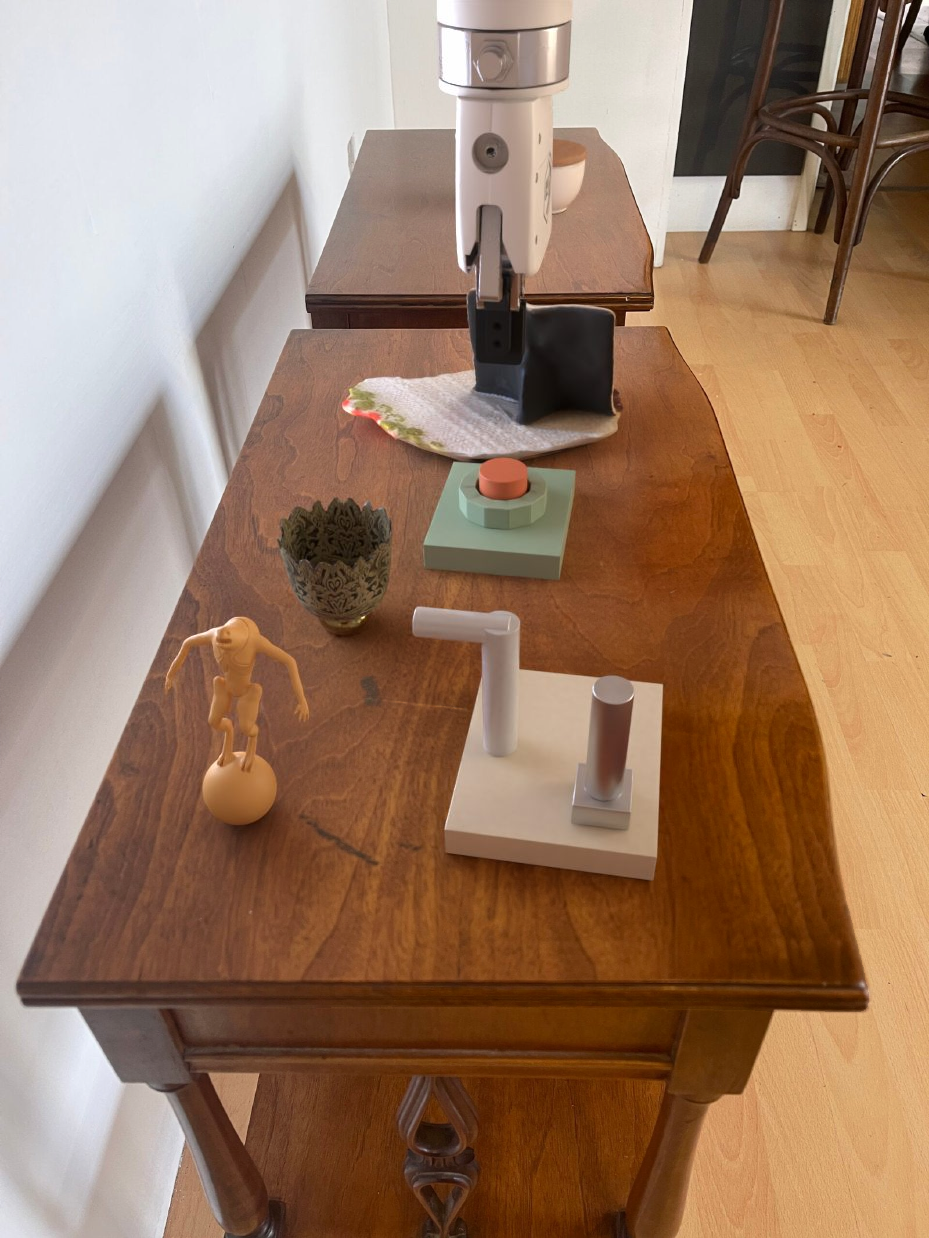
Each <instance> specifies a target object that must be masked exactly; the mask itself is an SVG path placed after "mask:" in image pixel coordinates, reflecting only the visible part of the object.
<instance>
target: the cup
mask: <svg viewBox="0 0 929 1238" xmlns="http://www.w3.org/2000/svg"><path fill="white" fill-rule="evenodd" d="M373 509H374V508H373V506H372V503H371V501H370V500H367V501H366V502H365V503H364V504H363V506H362V508H361V507H360V505H359V504H357V503H356V501H355V500H354V498H352V497H347V498H346V500H345V502H344V501H343V500H341V499H340V498H339V497H338V496H335V497H333V498H332V499H331V501H330V502H329V504H328V506H327V510H326V508H325V507H323V504H322V501H321V500H319V499H317V500H316V501H315V502H314V503H313V505H312V508H311V510H307V509H306V508H304V507H303V506H298V505H297V506H294V508H293V509H292V511H290V514H289V515H288V518H285V517H282V518H280V521H279V528H280V531H281V532H280V533H281V535H280V536H279V537H275V539H276V543H277V545H278V548H279V551H280V555H281V557H282V560H283V565H284V568H285V570H286V574H287V576H288V579H289V582H290V585H291V588H292V590H293V592H294V595H295V597H296V599H297V600H298V602H299V603H300V605H301V606H302V607H303V608H304V610H305V611H307V612H308V613H310V615H312V616H314V617H316V618H318V621H319V623H320V625H321V626H322V628H323V629H325V630H326V631H327V632H328V633H330V634H331V635H335V636H343V637H344V636H352V635H355V634H358V633H360V632H362V631H363V630H364V629H366V628H367V627H368V625H369V624H370V622H371V619H372V617H373V612H374V610H376V608H378V607H379V606H380V604H381V602H382V601H383V600H384V598H385V596H386V595H387V594H386V593H387V591H388V587H389V581H390V576H391V566H392V548H393V547H392V544H393V533H392V531H393V527H392V518H391V517H388V513H387V510H386V508H385V507H383V506H381V507H379V508H376V509H374V510H373Z"/></svg>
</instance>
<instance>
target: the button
mask: <svg viewBox="0 0 929 1238" xmlns="http://www.w3.org/2000/svg"><path fill="white" fill-rule="evenodd" d="M481 464H482V465H481V466H480V469H479V490H480V493H481V494H482V496H485V497H487V498H489V499H492V500H502V501H508V500H512V499H517V498H521V497H522V496H524V495H525V494H526V492H527V467H528V466H527V465H526V464H525V463H524V462H522V460H520V461H518V460H516V459H512V458H495V459H491V460H488V461H486V462H482V463H481Z"/></svg>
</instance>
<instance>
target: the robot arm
mask: <svg viewBox="0 0 929 1238" xmlns="http://www.w3.org/2000/svg"><path fill="white" fill-rule="evenodd" d="M573 1H574V0H436V20H437V21H436V22H437V23H436V27H437V28H436V29H437V31H436V32H437V67H438V88H439V89H440V91H442V92H444V93H446V94H448V95H452V96H455V97H456V113H455V114H456V117H455V119H456V121H455V134H454V139H455V229H456V230H455V232H456V252H457V253H456V254H457V263H458V267H459V269H461V270H462V272H464V274H466V275H470V274H471V272H472V271H473V269H474V271H475V272H474V273H475V288H476V306H475V329H476V360H477V361H478V362H479V363H488V364H503V365H520V364H521V362H522V360H523V356H524V353H525V336H526V303H527V300H528V299H523V298H524V297H525V291H526V278H527V279H528V278H529V279H530V278H532V277H534V276H535V275H536V274H537V273H538V271H539V270H540V268H541V265H542V263H543V260H544V257H545V254H546V251H547V248H548V245H549V241H550V238H551V235H552V225H553V214H552V159H553V139H554V107H553V96H554V95H557V94H559V93H561V92H564V91H565V90H567V89H568V88H569V85H570V84H569V83H570V82H569V80H570V75H569V74H570V62H571V40H572V39H571V38H572V18H573Z"/></svg>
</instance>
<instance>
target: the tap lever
mask: <svg viewBox="0 0 929 1238" xmlns="http://www.w3.org/2000/svg"><path fill="white" fill-rule="evenodd" d="M629 681H630V680H629V679H627V678H625V677H623V676H620V675H604V676H601V677H599V679H598V680H597V681H596V682H595V683H594V685H593V688H592V700H591V712H590V724H589V736H588V748H587V760H586V764H584V763H578V764H577V771H576V779H575V787H574V795H573V803H572V816H571V823H574V824H581V825H589V826H597V827H605V828H613V829H621V830H629V825H630V817H631V807H632V791H633V775H634V770H633V769H626V759H627V751H628V743H629V735H630V727H631V718H632V710H633V702H634V694H635V690H634V687H633V685H632V684H631V683H630V682H629Z"/></svg>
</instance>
